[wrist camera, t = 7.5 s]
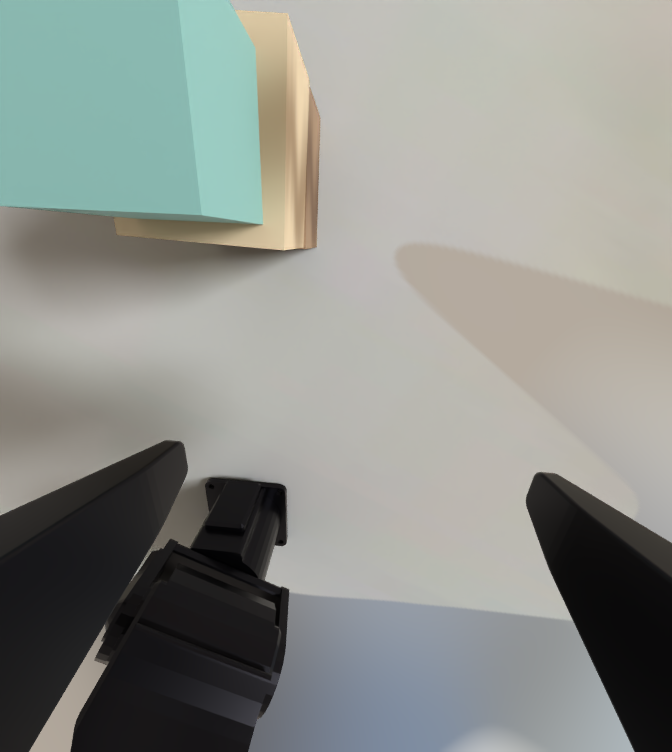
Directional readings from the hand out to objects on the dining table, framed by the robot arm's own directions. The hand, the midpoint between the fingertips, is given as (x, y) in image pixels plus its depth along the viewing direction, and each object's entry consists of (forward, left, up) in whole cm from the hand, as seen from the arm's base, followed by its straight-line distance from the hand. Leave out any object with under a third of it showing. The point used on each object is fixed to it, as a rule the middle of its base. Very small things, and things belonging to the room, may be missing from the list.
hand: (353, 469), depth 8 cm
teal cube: (+8, +6, -5) cm, 11 cm away
